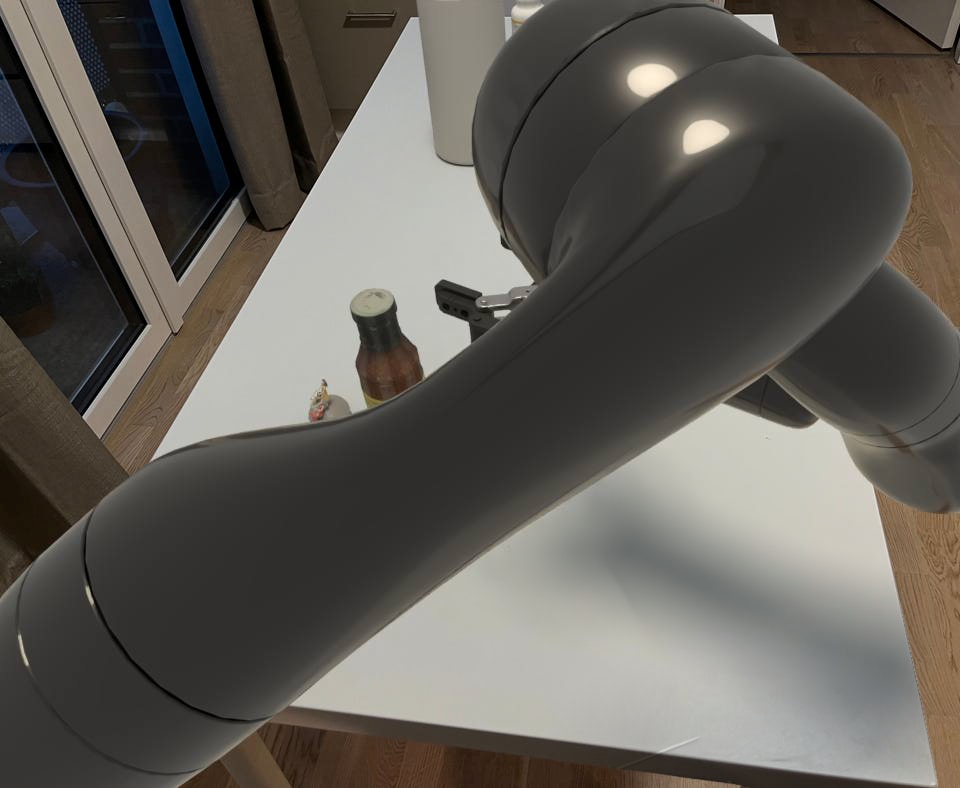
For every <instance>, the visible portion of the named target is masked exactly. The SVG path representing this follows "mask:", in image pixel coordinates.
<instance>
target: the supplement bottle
mask: <svg viewBox="0 0 960 788" xmlns="http://www.w3.org/2000/svg"><path fill="white" fill-rule="evenodd" d="M515 2H516V4H515V5H514V6H513V7H512V8H511V11H510V20H511V36H512V35H513V33H514V32H515V31H516V30H517V29H518V28H519V27H520V26H521V25H522V23H523V22H524V21H525V20H526V19H527V18H529V17H530V16H531V15H533V14H534V13H535V12H537V11H538V10H539V9H540V8H542V7H543V6H544V5H545V4H543V2H541V0H515Z"/></svg>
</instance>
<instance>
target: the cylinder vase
mask: <svg viewBox="0 0 960 788" xmlns="http://www.w3.org/2000/svg"><path fill="white" fill-rule="evenodd" d="M415 2H416V9H417V16H418V17H417V18H418V25H419V32H420V41H421V49H422V56H423V57H422V58H423V65H424V73H425V81H426V89H427V97H428V104H429V112H430V113H429V114H430V121H431V129H432V136H433V144H434V150H435V153H436V154H437V155H438V156H439V157H440V159H442V160H444V161H446V162H449V163H450V164H455V165H460V166H462V165H463V166H474V165H473V160H472V121H473V116H474V111H475V106H476V101H477V96H478V94H479V91H480V89H481V86H482V84H483V81H484V79H485V76H486V74H487V71H488V69H489V67H490V65H491V64H492V62H493V60H494V58H495V57H496V55H497V54H498V52H499V51H500V49H501V48H502V46H503V45H504V44H505V42H506V41H507V38H506V37H507V35H506V17H505V16H506V15H505V0H416V1H415Z"/></svg>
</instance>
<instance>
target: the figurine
mask: <svg viewBox="0 0 960 788" xmlns="http://www.w3.org/2000/svg"><path fill="white" fill-rule="evenodd" d="M328 387H329V384H328V382H327V381H326V379H325V378H321V383H320V387H318V388H317V389H315V391H314V393H313V394H312V395H311V397H310V398H309V400H310V401H309V406H310V407H309V410H308V420H309V421H308V422H315V421H320V420H325V419H330V418H335V417H340V416H345V415H349V414H352V411H351V408H350V405H349V403H348V401H347V400H346V399H345V398H344V397H342V396H340V395H337V394H328V391H327V389H328ZM320 389H321V391H320Z"/></svg>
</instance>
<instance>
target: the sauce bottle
mask: <svg viewBox="0 0 960 788" xmlns="http://www.w3.org/2000/svg"><path fill="white" fill-rule="evenodd" d="M349 310H350V315H351V319H352V320H353V322H354V323H355V324H356V327H357V331H358V334H359V337H358V338H359V341H360V344H359V348H358V352H357V355H356V357H355V361H354V364H355V366H354V367H355V369H356V372H357V375H358V378H359V383H360V389H361V391H362V394H363V398H364V402H365V405H366V409H367V408H370V407H373V406H375V405H377V404H379V403H382V402H384V401H386V400H388V399H391V398H393V397H395V396H397V395H399V394H400V393H402V392H403V391H405V390H407V389H408V388H410V387H412V386H413V385H415V384H416V383H418V382H420V381H421V380H423V379H424V378H426V374H425V372H424V367H423V365H422V363H421V360H420V359H421V358H420V354H419V351H418V347H417V346H416V345H415V344H414V343H413V342H412V341H411V340H410V339H409V338H408V337H407V336H406V335H405V334H404V333H403V332H402V329H401V326H400V323H399V320H398V314H397V312H398V305H397V302H396V298H395V295H394V294H393V293H392V291H390V290H387V289H385V288H376V287H375V288H367V289H364V290H362V291H360V292H359V293H357V294H356V295H354V296H353V298H352V299H351V301H350V303H349Z"/></svg>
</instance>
